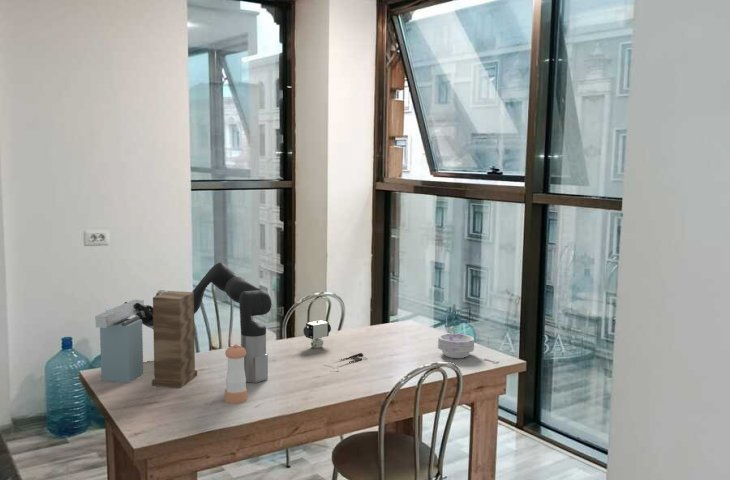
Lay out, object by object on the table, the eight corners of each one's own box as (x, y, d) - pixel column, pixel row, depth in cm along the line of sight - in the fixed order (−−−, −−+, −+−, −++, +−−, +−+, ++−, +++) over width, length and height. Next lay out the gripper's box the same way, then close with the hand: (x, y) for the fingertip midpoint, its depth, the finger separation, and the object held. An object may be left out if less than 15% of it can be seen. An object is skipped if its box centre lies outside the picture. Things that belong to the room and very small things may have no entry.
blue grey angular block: (129, 382, 240) (128, 323, 237) (101, 380, 241) (99, 321, 239) (143, 374, 249) (142, 316, 247) (116, 371, 251) (114, 315, 248)
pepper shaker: (250, 397, 228) (250, 342, 226) (241, 404, 221) (241, 348, 219) (230, 394, 230) (230, 341, 227) (221, 402, 223) (221, 346, 220)
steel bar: (106, 328, 230) (105, 316, 229) (95, 327, 230) (95, 316, 230) (143, 310, 255) (143, 300, 254) (134, 309, 256) (133, 299, 255)
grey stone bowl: (462, 348, 291) (463, 331, 290) (480, 359, 277) (481, 340, 276) (431, 351, 286) (432, 333, 285) (447, 362, 272) (448, 343, 271)
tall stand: (180, 388, 235) (179, 299, 231) (151, 385, 237) (150, 298, 233) (197, 375, 249) (196, 291, 245) (169, 373, 251) (168, 290, 247)
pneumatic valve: (331, 346, 291) (331, 319, 290) (309, 350, 284) (309, 323, 282) (323, 343, 295) (323, 316, 294) (301, 347, 288) (302, 320, 286)
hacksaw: (360, 355, 280) (361, 351, 280) (378, 361, 273) (378, 357, 272) (316, 366, 263) (316, 363, 263) (333, 373, 256) (333, 369, 256)
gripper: (136, 307, 267) (115, 294, 252) (169, 309, 265) (150, 296, 249) (132, 325, 264) (110, 313, 249) (165, 327, 262) (146, 315, 246)
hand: (130, 304), depth 249 cm, fingers closed on steel bar, 4 cm apart
